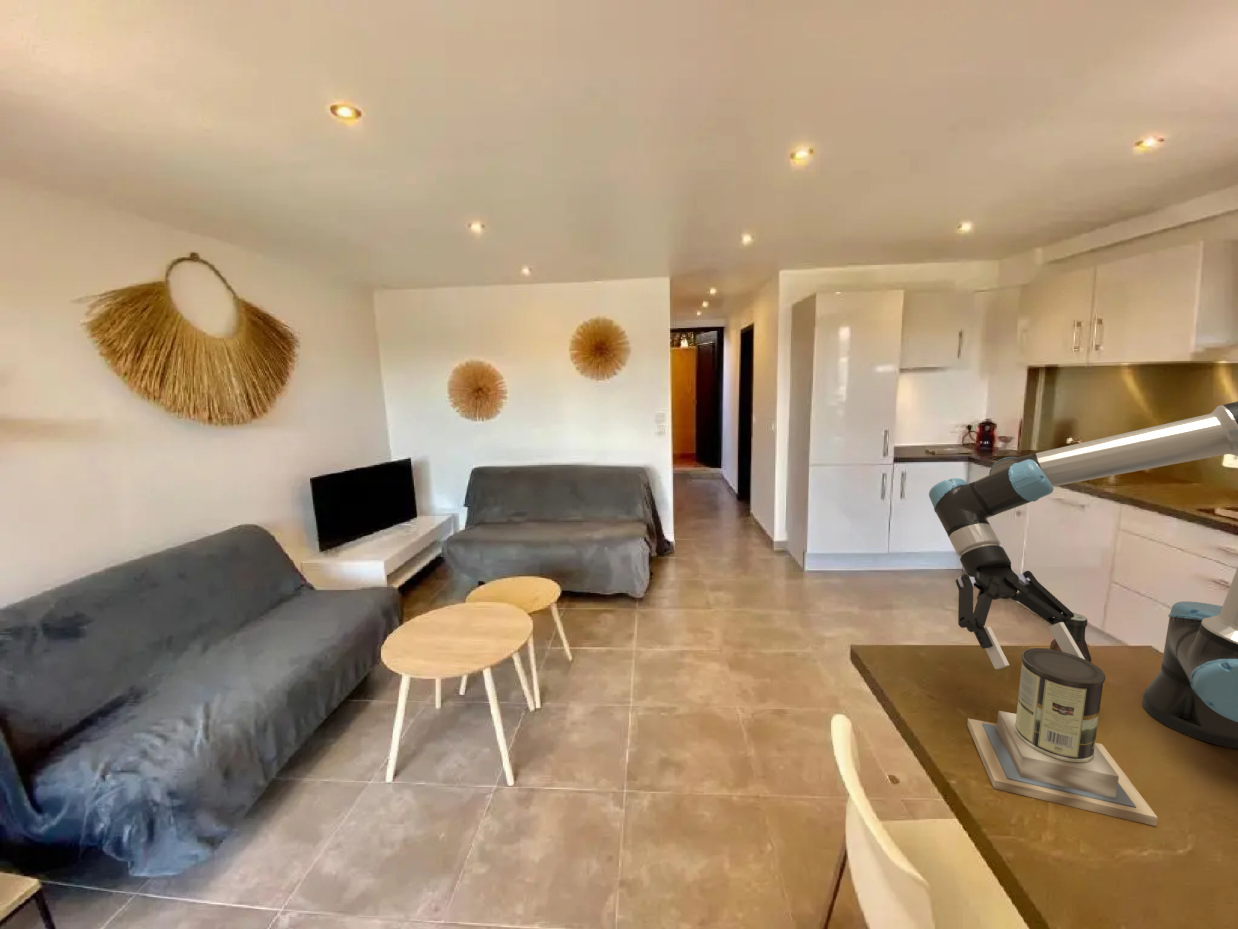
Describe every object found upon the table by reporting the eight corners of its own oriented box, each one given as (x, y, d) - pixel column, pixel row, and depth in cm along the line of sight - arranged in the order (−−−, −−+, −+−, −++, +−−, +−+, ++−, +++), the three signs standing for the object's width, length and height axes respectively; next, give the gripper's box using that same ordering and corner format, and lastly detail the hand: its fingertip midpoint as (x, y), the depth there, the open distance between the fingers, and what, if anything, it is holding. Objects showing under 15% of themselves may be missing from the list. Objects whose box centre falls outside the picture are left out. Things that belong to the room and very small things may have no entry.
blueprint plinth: (1100, 751, 88) (1104, 723, 87) (1156, 826, 73) (1161, 794, 72) (967, 725, 95) (969, 699, 95) (993, 788, 81) (996, 758, 80)
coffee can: (1064, 722, 88) (1074, 649, 85) (1111, 766, 78) (1124, 685, 75) (1000, 717, 89) (1008, 645, 87) (1038, 760, 79) (1048, 680, 77)
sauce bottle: (1093, 721, 96) (1107, 626, 92) (1056, 718, 97) (1068, 623, 93) (1070, 700, 102) (1082, 610, 99) (1035, 697, 103) (1046, 608, 100)
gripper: (1026, 556, 101) (1090, 665, 89) (909, 563, 99) (957, 674, 87) (1054, 540, 95) (1126, 654, 82) (929, 546, 93) (984, 664, 81)
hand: (1040, 665), depth 85 cm, fingers open, 13 cm apart
